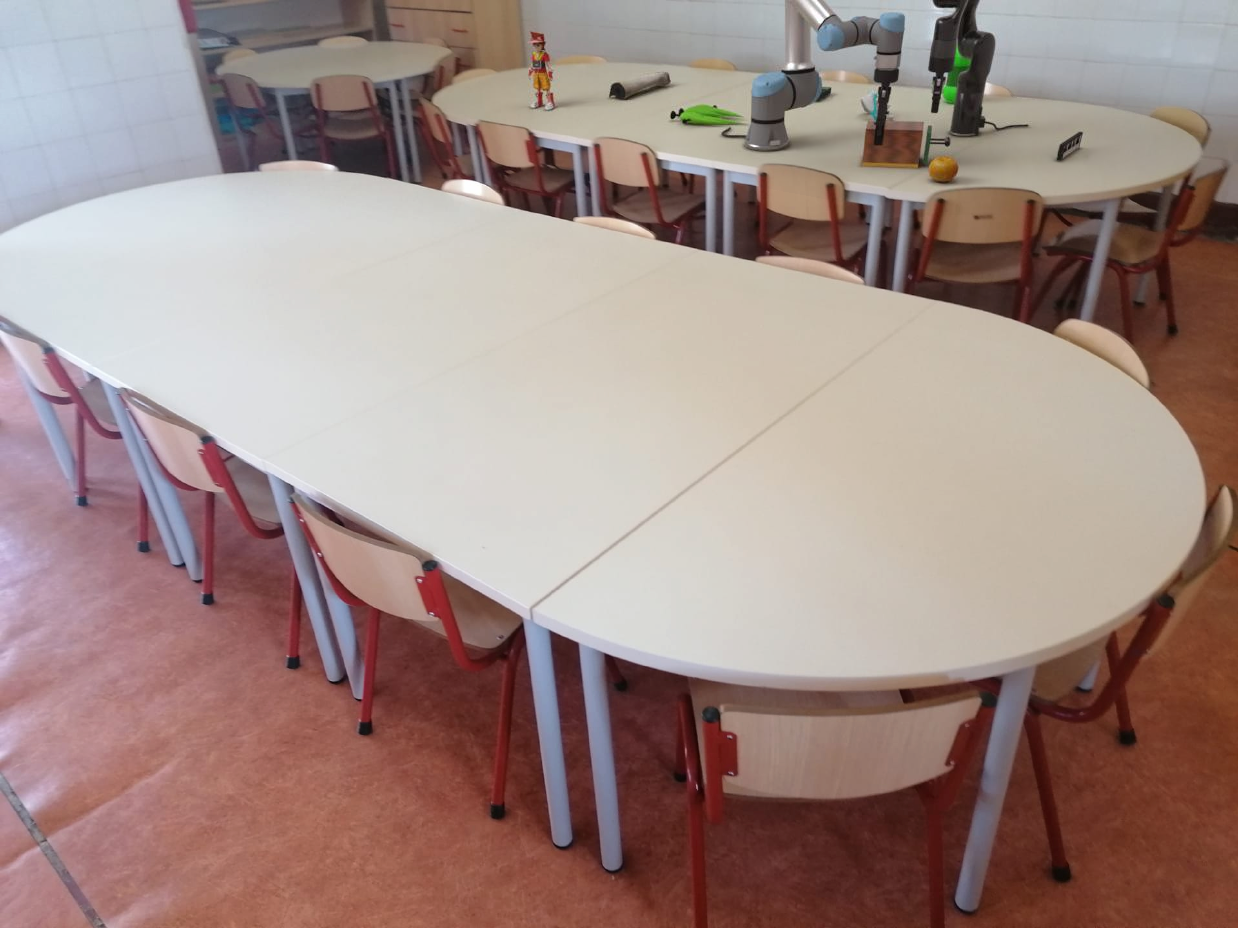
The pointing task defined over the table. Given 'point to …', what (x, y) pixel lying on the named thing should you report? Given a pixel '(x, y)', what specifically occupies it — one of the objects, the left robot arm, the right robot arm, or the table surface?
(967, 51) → the right robot arm
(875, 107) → the anatomical model
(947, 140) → the drawer
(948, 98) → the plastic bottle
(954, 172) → the fruit
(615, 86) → the rolled mat
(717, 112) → the toy
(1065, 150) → the midi keyboard
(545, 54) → the toy
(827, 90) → the disk drive
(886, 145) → the cabinet
